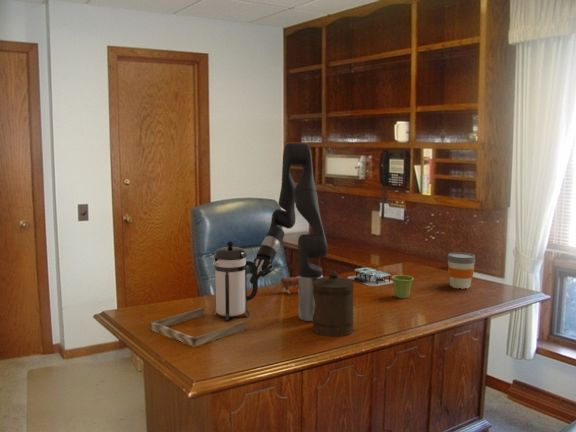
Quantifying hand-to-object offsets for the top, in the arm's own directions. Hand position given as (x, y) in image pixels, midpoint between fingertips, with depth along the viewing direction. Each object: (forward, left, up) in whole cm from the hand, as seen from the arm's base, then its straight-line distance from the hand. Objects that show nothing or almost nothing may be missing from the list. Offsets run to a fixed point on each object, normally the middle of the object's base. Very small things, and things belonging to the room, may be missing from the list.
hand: (252, 283), depth 240 cm
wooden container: (-43, 0, -10) cm, 44 cm away
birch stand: (-6, +33, -10) cm, 35 cm away
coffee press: (-3, +13, -10) cm, 17 cm away
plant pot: (-39, -55, -10) cm, 68 cm away
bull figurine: (0, -28, -10) cm, 30 cm away
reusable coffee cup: (-50, -89, -10) cm, 102 cm away
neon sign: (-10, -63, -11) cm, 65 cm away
